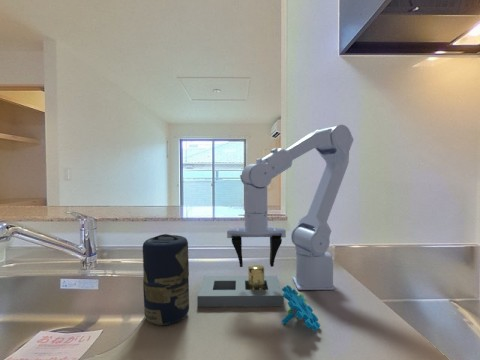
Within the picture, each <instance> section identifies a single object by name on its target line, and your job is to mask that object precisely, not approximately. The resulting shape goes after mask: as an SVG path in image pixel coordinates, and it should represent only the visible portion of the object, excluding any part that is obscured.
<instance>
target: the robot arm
mask: <svg viewBox="0 0 480 360" xmlns="http://www.w3.org/2000/svg"><path fill="white" fill-rule="evenodd" d="M353 142H354V137H353V136H352V132H351V131H350V128H349V127H348V126H347V125H345V124H338V125H336V126H330V127H326V128H318V129H316V130H315V131H312V132H309V133H308V134H307V135H305V136H304V137H302V138H301V139H299V140H298V141H296V142H295V143H293V144H291V146H289V147H288V148H286V149H284V148H281V147H280V148H277V147H276V148H275V147H274V148H272V149H270V153H269V154H268V155H265V156H264V157H262V158H261V157H258V158H257V159H255V161H256V162H255V163H250V164H247V165H246V166H245V167H243V170H242V171H241V174H240V175H239V177H240V181H241V183H242V184H243V185H244V199H243V200H244V227H237V228H227V230H226V238H227V239H231V243H232V246H233V248H234V250H235V253H236V255H237V258H238V263H239V268H243V265H244V264H243V252H242V251H243V250H242V249H243V248H242V246H243V245H242V244H243V243H242V241H243V240H242V238H269V244H270V245H269V247H270V248H269V250H270V251H269V253H270V254H269V265H270V267H271V268H272V267H274V266H275V265H274V263H275V259H276V256H277V254H278V252H279V251H278V250H279V249H280V247H281V244H282V242H283V241H282V240H283V238H286V237H287V236H286V235H287V233H286V228H284V227H268V186H269V185H270V184H271V182H272V180H273V179H274V178H275V177H278V175H280V174H282V173H284V172H285V171H287V170H288V169H290V168H291V167H292V164H293V161H295V160H296V159H297V158H299V157H301V156H303V155H305V154H306V153H309V152H310V151H312V150H314V149H315V150H316V151H317V152H318V153H319V155H320V157H321V158H322V159H323V160H324V161H325V163H326V164H325V167H324V171H323V173H322V175H321V178H320V181H319V182H318V186H317V188H316V191H315V194H314V196H313V199H312V201H311V204H310V207H309V208H308V209H309V210H308V212H307V214H306V215H305V216H303V217H302V218H300V219H299V221H298V224H297V225H296V226H295V227H294V228H293V229H292V231H291V234H290V235H291V239H290V240H291V242H292V243H293V245H294V246H295V256H296V257H295V267H296V268H295V276H292V281H293V282H294V285H295V286H296V289H297V290H299V291H320V290H321V291H324V290H325V291H326V290H327V291H328V290H329V291H330V290H331V291H333V290H335V287H334V262H333V260H334V259H333V256H332V254H331V253H330V251H329V252H328V249H329V247H330V241H331V240H330V238H331V234H332V229H331V227H330V226H329V224H328V220H329V217H330V214H331V211H332V210H333V206H334V204H335V201H336V199H337V196H338V193H339V190H340V188H341V184H342V182H343V179H344V177H345V174H346V172H347V168H348V166H349V161H350V150H351V147H352V144H353Z"/></svg>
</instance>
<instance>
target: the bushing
mask: <svg viewBox="0 0 480 360" xmlns="http://www.w3.org/2000/svg"><path fill="white" fill-rule="evenodd" d="M247 268H248V270H247V273H248V274H247V276H248V290H264V276H265V266H264V265H261V264H250V265H249V266H248V267H247Z"/></svg>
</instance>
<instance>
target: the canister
mask: <svg viewBox="0 0 480 360" xmlns="http://www.w3.org/2000/svg"><path fill="white" fill-rule="evenodd" d="M189 263H190V262H189V242H188V239H187V238H186V237H185V236H182V235H175V234H169V233H165V234H159V235H157V236H154V237H150V238H148V239H146V240H145V241H143V243H142V268H143V269H142V270H143V271H142V273H143V277H142V278H143V280H142V283H143V285H142V286H143V305H144V307H143V309H144V312H143V313H144V317H145V319H146V321H148V322H149V323H151V324H155V325H158V326H159V325H160V326H162V325H163V326H164V325H169V324H174V323H176V322H178V321H181V320H183V319H184V318H185V317H186V316H187V315H188V313H189V310H190V289H189V288H190V285H189V281H190V280H189V277H190V276H189V275H190V274H189V273H190V269H189V266H190V265H189Z"/></svg>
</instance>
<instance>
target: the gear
mask: <svg viewBox="0 0 480 360" xmlns="http://www.w3.org/2000/svg"><path fill="white" fill-rule="evenodd" d="M281 289H282V292H283V296H284V299H285V300H287V305H288V307H289V309H288V310H287V313H288V314H287V315H286V316H285V317H284V318H282V319H281V322H282V324H283V325H287V324H288V323H289V322H290V321H291V320H292V319H294V318H295V316H296V317H297V319H298V320H299V321H301V320H302V319H303V320H304V322H303V324H304V325H305V327H307V328H308V329H310V328H311V330H312V331H314V332H317V331H318V330H319V328H320V327H321V323H319V318H318V316H317V315H315V314H314V312H313V311H314V310H313V308H312V307H311V305H308V303H307V301H306V299H305V298H304V297H305V296H304V295H303V294H302V293H299V292H298V291H297V290H296V289H295V288H293V289H292V286H290V285H289V284H288V285H286V286H283V288H281Z"/></svg>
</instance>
